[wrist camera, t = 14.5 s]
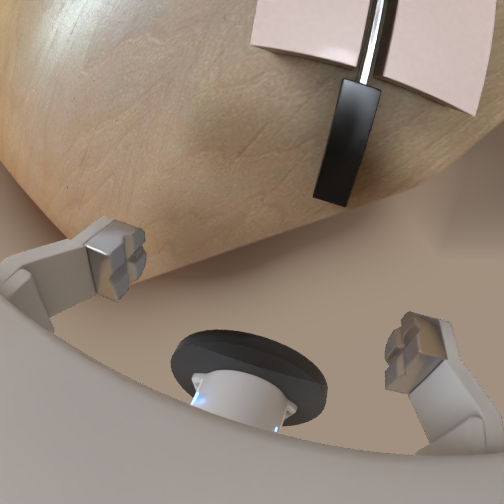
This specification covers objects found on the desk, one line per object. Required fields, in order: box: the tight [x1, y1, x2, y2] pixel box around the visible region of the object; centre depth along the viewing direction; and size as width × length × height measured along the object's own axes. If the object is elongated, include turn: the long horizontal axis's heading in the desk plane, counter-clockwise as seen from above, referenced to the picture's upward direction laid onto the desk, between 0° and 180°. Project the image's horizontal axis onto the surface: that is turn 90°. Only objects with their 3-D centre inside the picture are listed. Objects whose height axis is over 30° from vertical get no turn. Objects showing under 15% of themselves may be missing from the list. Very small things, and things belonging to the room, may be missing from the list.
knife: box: [313, 0, 385, 207], centre depth 16 cm, size 22×3×3 cm, turn 171°
